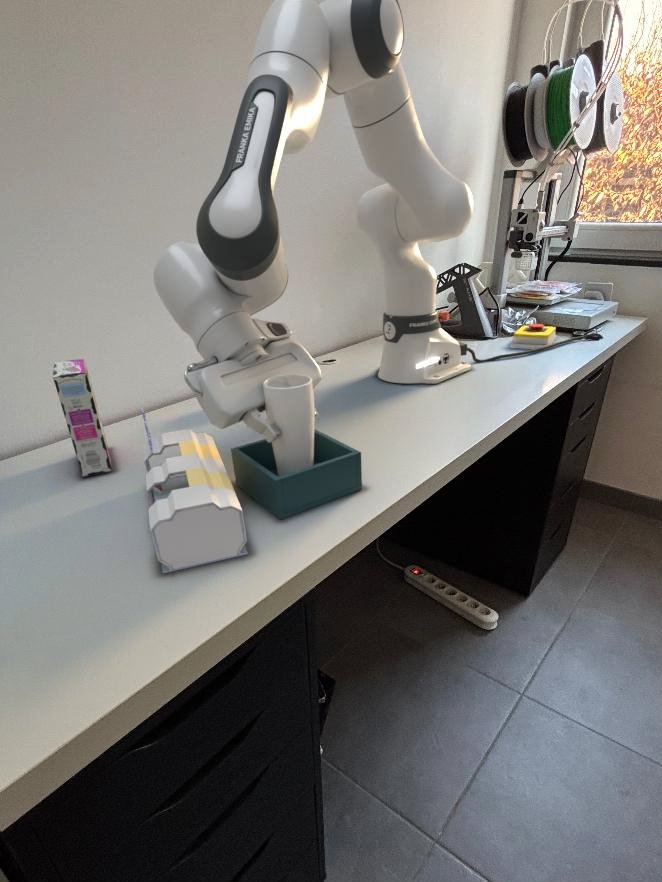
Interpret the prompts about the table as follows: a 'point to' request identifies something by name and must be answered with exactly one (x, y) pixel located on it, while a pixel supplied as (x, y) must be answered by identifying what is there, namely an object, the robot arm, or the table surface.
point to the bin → (298, 475)
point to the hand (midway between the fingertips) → (295, 429)
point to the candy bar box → (82, 416)
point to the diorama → (192, 503)
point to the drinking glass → (291, 421)
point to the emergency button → (533, 336)
